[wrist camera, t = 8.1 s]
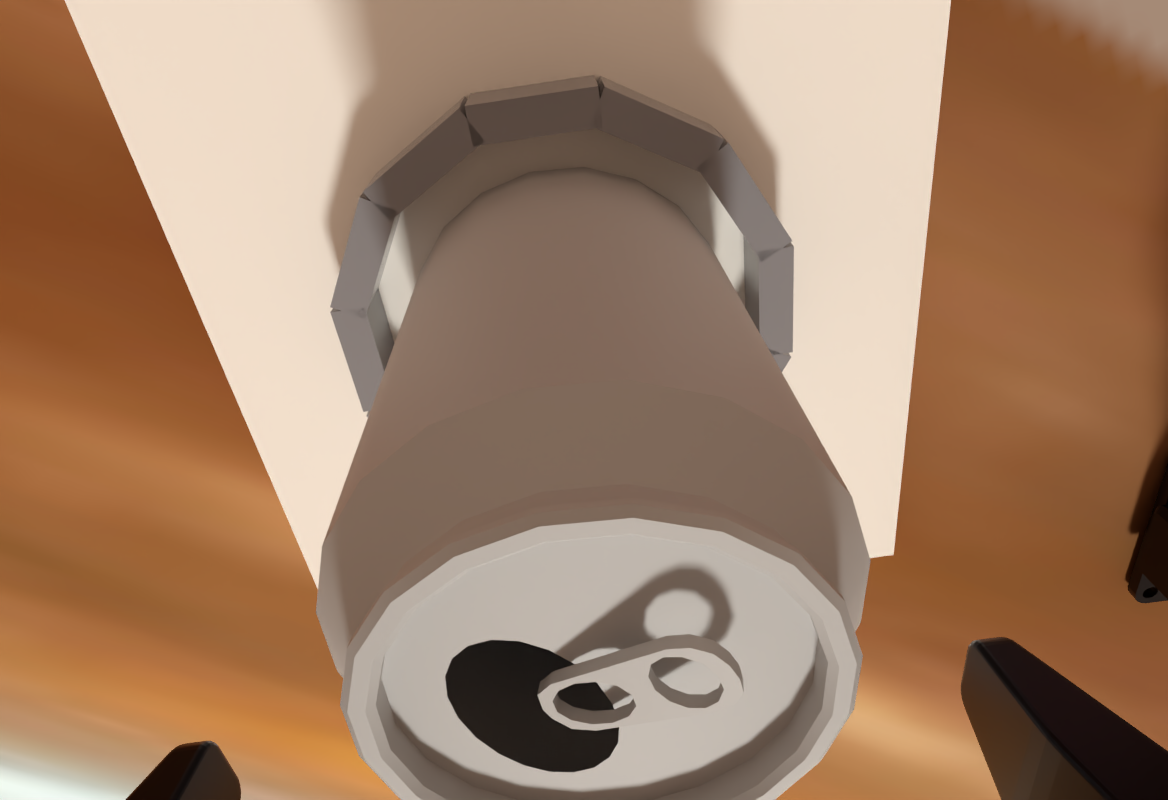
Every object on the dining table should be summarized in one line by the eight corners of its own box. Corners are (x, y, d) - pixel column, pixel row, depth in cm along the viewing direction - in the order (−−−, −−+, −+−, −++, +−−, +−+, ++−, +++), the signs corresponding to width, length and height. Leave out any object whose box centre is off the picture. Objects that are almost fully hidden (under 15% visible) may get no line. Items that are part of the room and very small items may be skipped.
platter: (952, -251, 15) (1022, -285, 13) (881, 533, 25) (913, 589, 23) (46, -108, 15) (-35, -116, 13) (341, 605, 25) (323, 666, 23)
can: (355, 265, 18) (125, 675, 8) (625, 90, 17) (764, 329, 6) (528, 474, 22) (519, 947, 12) (765, 347, 20) (1003, 771, 10)
